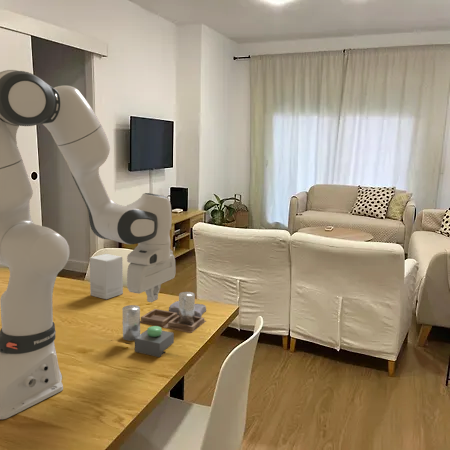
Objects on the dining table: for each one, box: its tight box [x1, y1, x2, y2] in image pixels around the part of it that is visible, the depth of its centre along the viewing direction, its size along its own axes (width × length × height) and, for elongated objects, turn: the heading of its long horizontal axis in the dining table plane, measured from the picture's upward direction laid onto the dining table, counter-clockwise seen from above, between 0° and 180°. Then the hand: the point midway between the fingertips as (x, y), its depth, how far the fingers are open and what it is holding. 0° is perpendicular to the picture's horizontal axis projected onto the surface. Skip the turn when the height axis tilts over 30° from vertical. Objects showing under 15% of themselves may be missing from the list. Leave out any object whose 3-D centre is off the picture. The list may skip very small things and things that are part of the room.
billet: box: [122, 304, 141, 345], centre depth 133 cm, size 5×5×10 cm
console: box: [134, 329, 175, 358], centre depth 129 cm, size 8×8×4 cm
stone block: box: [168, 300, 207, 317], centre depth 157 cm, size 12×5×10 cm
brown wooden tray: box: [140, 308, 207, 334], centre depth 147 cm, size 11×19×2 cm, turn 68°
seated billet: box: [178, 291, 196, 326], centre depth 144 cm, size 5×5×10 cm
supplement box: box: [89, 253, 124, 300], centre depth 173 cm, size 9×9×15 cm
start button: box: [146, 325, 163, 338], centre depth 128 cm, size 4×4×5 cm
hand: (152, 300), depth 126 cm, fingers closed
